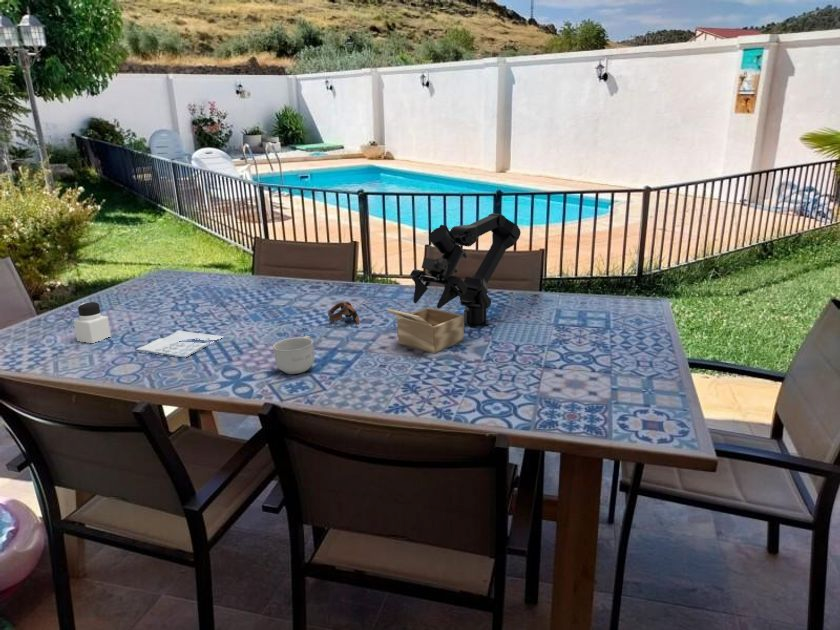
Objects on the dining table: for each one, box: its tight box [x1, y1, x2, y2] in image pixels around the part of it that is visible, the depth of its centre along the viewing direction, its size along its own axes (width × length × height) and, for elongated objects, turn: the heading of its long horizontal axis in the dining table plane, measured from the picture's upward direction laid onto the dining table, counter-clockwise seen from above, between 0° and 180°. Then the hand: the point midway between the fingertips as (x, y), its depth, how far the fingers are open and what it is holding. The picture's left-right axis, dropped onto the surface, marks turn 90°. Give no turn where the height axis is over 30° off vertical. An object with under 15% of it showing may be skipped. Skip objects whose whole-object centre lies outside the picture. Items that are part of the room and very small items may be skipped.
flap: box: [386, 307, 432, 326], centre depth 183 cm, size 7×12×1 cm
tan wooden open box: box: [396, 307, 465, 354], centre depth 192 cm, size 14×15×8 cm
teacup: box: [272, 335, 315, 375], centre depth 174 cm, size 14×11×8 cm
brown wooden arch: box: [327, 301, 360, 325], centre depth 214 cm, size 12×10×8 cm
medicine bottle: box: [73, 301, 112, 344], centre depth 200 cm, size 7×7×12 cm
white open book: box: [136, 329, 225, 358], centre depth 195 cm, size 19×20×2 cm
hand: (425, 305), depth 188 cm, fingers open, 9 cm apart
